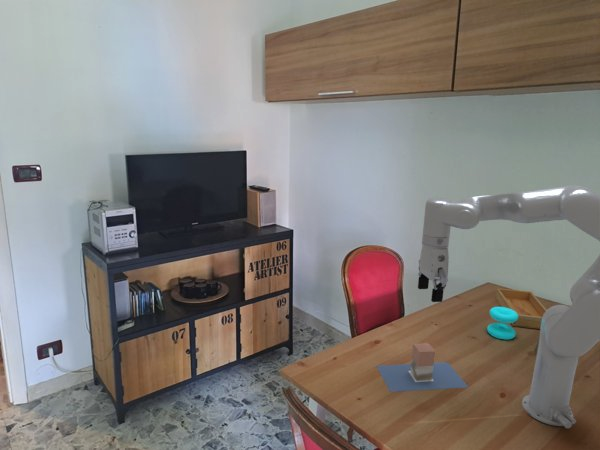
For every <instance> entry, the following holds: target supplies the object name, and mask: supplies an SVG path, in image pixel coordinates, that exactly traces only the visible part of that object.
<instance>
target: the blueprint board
mask: <svg viewBox="0 0 600 450" xmlns="http://www.w3.org/2000/svg"><path fill="white" fill-rule="evenodd" d="M376 368H377V370H378V372H379V374H380V376H381V377H382V379H383V381H384V383H385V384H386V386H387V388H388V390H389V392H391V393H396V392H399V393H400V392H413V391H431V390H449V389H465V388H469V386H468V384H467V383H466V382H465V380H463V379H462V377H461V376H460V375H459V374H458V373H457V372H456V370H455V369H454V368H453V366H451V364H450V363H449V362H448V361H447V362H446V361H443V362H441V361H440V362H434V365H433V374H432V380H423V381H416V379H415V378H414V376H413V375H412V373H411V372H410V371H411V363H406V364H404V363H403V364H383V365H380V364H379V365H376Z"/></svg>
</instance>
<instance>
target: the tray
mask: <svg viewBox="0 0 600 450" xmlns="http://www.w3.org/2000/svg"><path fill="white" fill-rule="evenodd" d="M495 300H496V301H497V300H498V301H497V303H498V302H499V303H498V304H499V307H505V308H509V309H512V310H513V311H515V312H516V313H517V314H518V320H517V321H515V322H513V323H511V324H512V326H513V327H520V328H528V329H538V330H540V326H541V320H542V317H543V315H544V313H545V312H546V311H547V310H548V308H546V307H545V305H543V304H542V302H541V301H540V300H539V299H538V298H537V296H536V295H535V294H534V293H533V292H532V291H527V290H520V289H519V290H518V289H517V290H516V289H509V288H496V289H495Z"/></svg>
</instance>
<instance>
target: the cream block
mask: <svg viewBox="0 0 600 450" xmlns="http://www.w3.org/2000/svg"><path fill="white" fill-rule="evenodd" d="M410 364H411V371H410V372H411V373H412V375H413V376H414V378H415V379H416V381H423V380H432V374H433V366H420V367H418V366H417V364H416V363H415V362H414V360H413V359H412V358H411V363H410Z"/></svg>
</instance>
